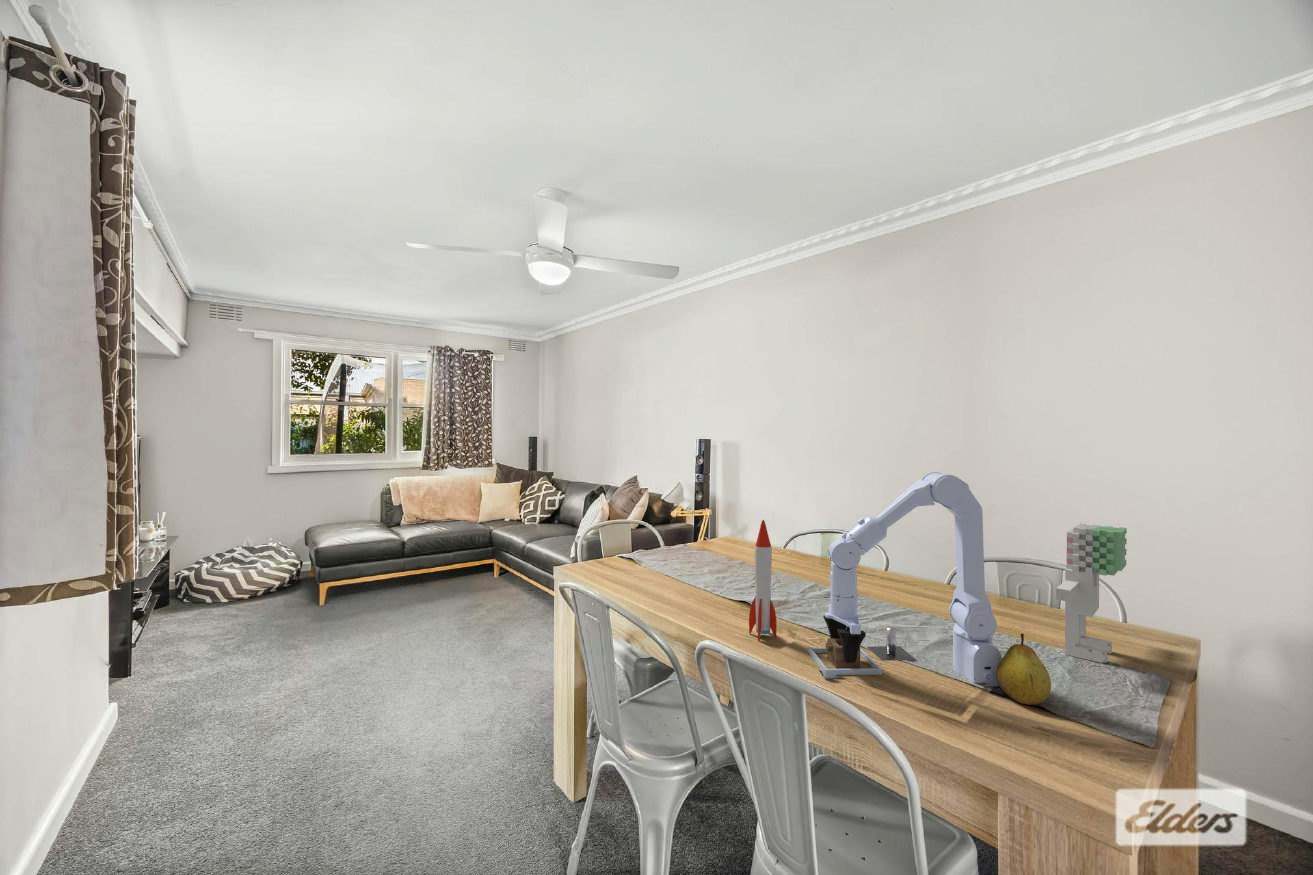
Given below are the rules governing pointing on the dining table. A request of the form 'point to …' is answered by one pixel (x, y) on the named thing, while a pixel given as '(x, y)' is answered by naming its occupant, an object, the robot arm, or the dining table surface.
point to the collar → (839, 654)
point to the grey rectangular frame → (833, 672)
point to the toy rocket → (763, 587)
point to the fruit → (1023, 675)
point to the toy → (1088, 584)
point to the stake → (891, 648)
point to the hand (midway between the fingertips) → (843, 654)
